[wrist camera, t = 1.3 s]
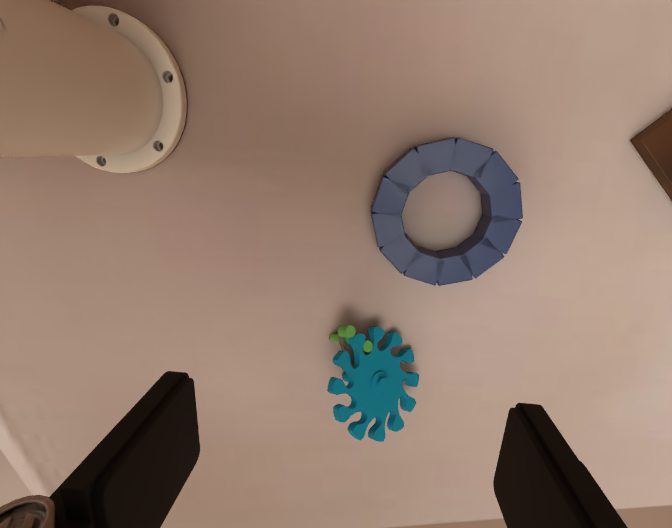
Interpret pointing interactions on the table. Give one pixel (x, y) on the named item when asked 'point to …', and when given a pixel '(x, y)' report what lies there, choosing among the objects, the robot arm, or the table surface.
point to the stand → (658, 149)
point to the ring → (492, 228)
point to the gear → (371, 381)
